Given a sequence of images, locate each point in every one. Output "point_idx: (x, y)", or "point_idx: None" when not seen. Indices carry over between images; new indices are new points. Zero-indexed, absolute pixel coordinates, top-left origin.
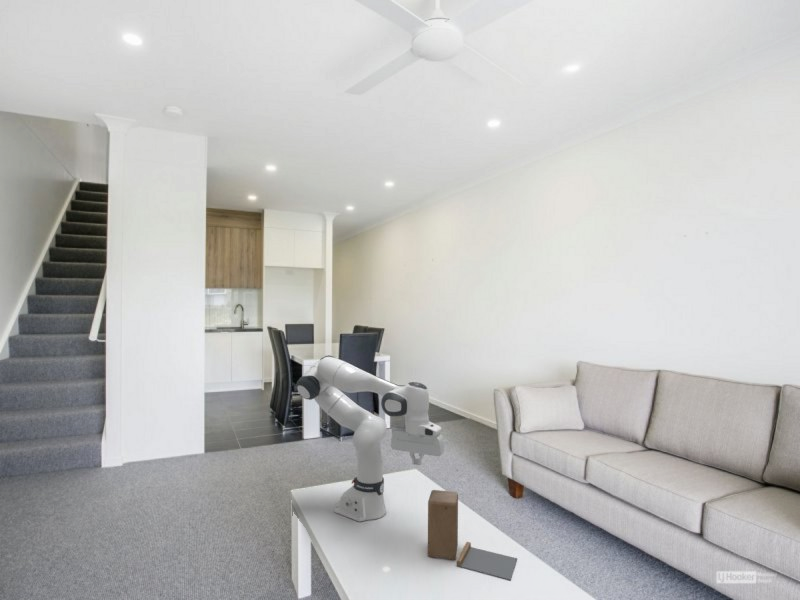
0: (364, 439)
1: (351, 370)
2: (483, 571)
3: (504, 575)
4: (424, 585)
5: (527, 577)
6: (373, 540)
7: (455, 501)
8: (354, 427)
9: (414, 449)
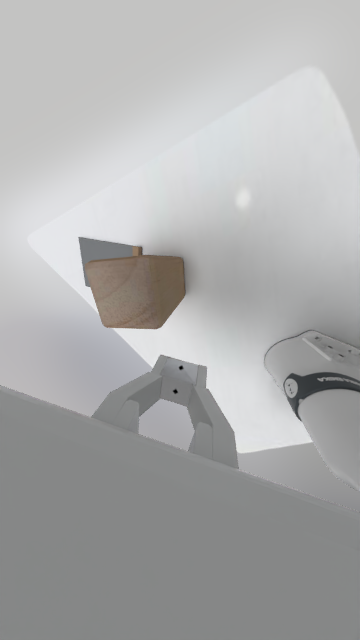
0: None
1: None
2: (108, 243)
3: (86, 243)
4: (172, 174)
5: (68, 251)
6: (277, 280)
7: (86, 273)
8: None
9: (149, 510)
